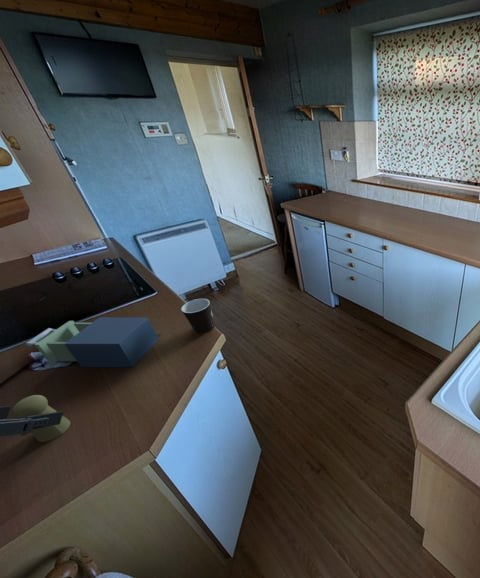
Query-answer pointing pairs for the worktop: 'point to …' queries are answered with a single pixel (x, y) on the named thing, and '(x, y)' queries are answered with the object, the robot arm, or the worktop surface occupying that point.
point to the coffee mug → (199, 315)
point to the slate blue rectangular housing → (113, 342)
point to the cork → (38, 407)
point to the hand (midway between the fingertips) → (33, 414)
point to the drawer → (57, 341)
